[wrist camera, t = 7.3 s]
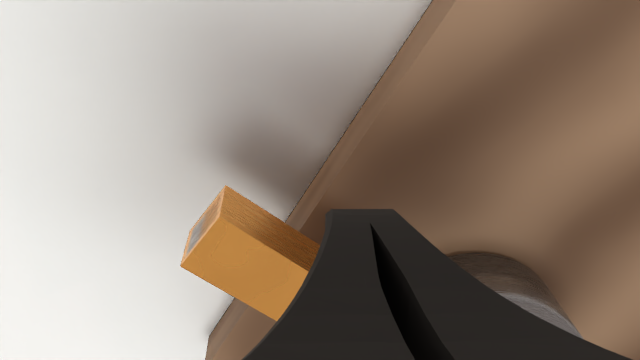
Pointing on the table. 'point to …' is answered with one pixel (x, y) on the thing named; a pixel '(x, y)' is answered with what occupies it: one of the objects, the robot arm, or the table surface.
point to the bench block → (501, 155)
